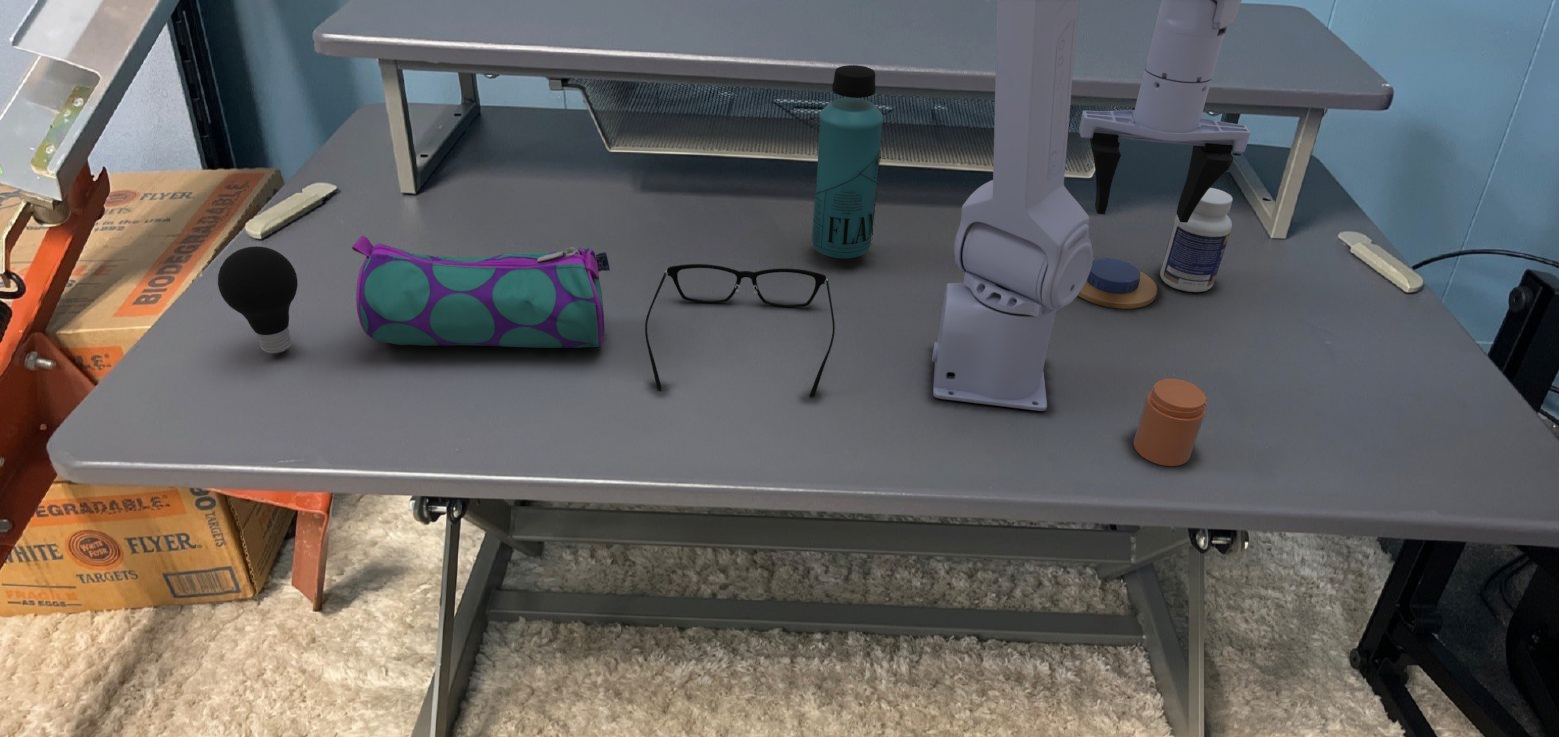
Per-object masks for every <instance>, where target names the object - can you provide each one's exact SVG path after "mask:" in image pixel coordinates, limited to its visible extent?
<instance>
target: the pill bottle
mask: <svg viewBox="0 0 1559 737" xmlns="http://www.w3.org/2000/svg"><path fill="white" fill-rule="evenodd" d="M1233 200H1234V199H1233V196H1232V195H1231V194H1230V193H1228V192H1226V191H1224V190H1221V189H1218V188H1214V187H1210V188H1209V189H1208V191H1207V192H1206V193H1205V194H1204V196H1203V197H1202V199H1201V200H1200V201H1199V203H1198V205H1197V206H1196V208H1195V209H1194V211H1193V213H1192V215H1191V216H1190V218H1189V220H1188V222H1187V223H1184V222H1180V220H1179V218H1178V216H1177V214H1176V215H1175V217H1174V221H1173V225H1172V229H1171V231H1170V236H1169V239H1168V243H1167V245H1166V250H1165V253H1164V257H1163V260H1162V263H1161V267H1160V272H1159V276H1160V278H1161V280H1162V281H1163V282H1164V283H1165V285H1168V286H1169V287H1171V288H1173V289H1175V290H1179V291H1183V292H1189V293H1201V292H1207V291H1208V290H1210V289H1211V288H1213V286H1214V283H1215V281H1216V278H1217V275H1218V273H1219V269H1220V266H1221V262H1222V259H1223V257H1224V254H1225V250H1226V248H1227V244H1228V241H1229V238H1230V235H1231V232H1232V228H1233V223H1232V219H1231V218H1230V217H1229V216H1228V214H1229V213H1230V211H1231V208H1232V204H1233Z"/></svg>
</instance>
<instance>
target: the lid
mask: <svg viewBox="0 0 1559 737" xmlns="http://www.w3.org/2000/svg"><path fill="white" fill-rule="evenodd" d="M1140 271H1141V270H1139V269H1138V268H1137V267H1136V266H1135V265H1133V264H1132V263H1129V262H1128V261H1124V260H1122V259H1117V258H1108V257H1105V258H1095V259H1093V262H1092V267H1091V270H1090V273H1089V276H1088V278H1087V281H1088V282H1089V283H1090V284H1091V285H1092V286H1094V287H1095V288H1097V289H1100V290H1103V291H1106V292H1110V293H1129V292H1132V291H1135V289H1136V288H1138V285H1139V282H1140V279H1139V278H1140Z"/></svg>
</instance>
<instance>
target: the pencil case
mask: <svg viewBox="0 0 1559 737" xmlns="http://www.w3.org/2000/svg"><path fill="white" fill-rule="evenodd" d="M351 249H352V250H353V251H354V252H356V253H359V254H361V255H363V256H365V259H364V260H363V262H362V263H361V266H360V268H359V270H358V276H357V281H356V287H355V288H356V290H355V303H356V313H357V317H358V320H359V324H360V327H361V328H362V330H363V332H364V333H365V334H366V336H367V337H369V338H371V340H373V341H375V342H377V343H389V344H393V345H398V346H411V345H412V346H488V347H489V346H490V347H506V348H532V349H533V348H536V349H537V348H538V349H540V348H541V349H542V348H543V349H545V348H546V349H549V348H550V349H575V348H576V349H577V348H578V349H579V348H598V347H600V346H601V345H602V344H603V343H604V336H605V335H604V334H605V313H604V312H605V311H604V302H603V292H602V286H601V281H600V273H599V272H602V271H604V272H607V271H611V269H610V263H609V258H608V254H607V252H605V251H603V252H599V253H596V252H595V251H594V249H591V248H590V247H583V246H582V247H576V248H575V247H573V246H571V247H567V248H565V250H561V251H552V252H544V251H543V252H542V251H538V252H537V251H536V252H526V253H515V252H510V253H501V254H497V255H487V256H481V257H480V256H479V257H471V256H470V257H469V256H468V257H461V256H460V257H459V256H445V255H437V256H433V255H429V254H421V253H413V252H410V251H406V250H403V249H400V248H397V247H394V246H391V245H388V244H384V243H381V242H380V243H379V242H378V243H376V244H374V245H373V243H371V241H370V240H369V238H368V237H367V236H366V235H360V236H359V237H358V238H357V240H356V241H355V242H354V244H353V245H352V246H351Z"/></svg>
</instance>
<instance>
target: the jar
mask: <svg viewBox="0 0 1559 737" xmlns="http://www.w3.org/2000/svg"><path fill="white" fill-rule="evenodd" d="M1207 403H1208V398H1207V394H1206V393H1205V392H1204V389H1203V390H1202V388H1200V387H1199V386H1197V385H1196V384H1194V383H1192V382H1190V381H1187V380H1184V379H1179V378H1171V377H1170V378H1163V379H1160V380H1158V381H1156V382H1155V383H1154V385H1153V387H1152V390H1150V391H1149V392H1148V394H1146V398H1145V402H1144V404H1143V408H1142V412H1141V415H1140V417H1139V421H1138V425H1137V428H1136V432H1135V435H1134V438H1133V442H1132V443H1133V447H1134V449H1135V451H1136V453H1138V454H1139V455H1140V456H1141V457H1142V458H1143V459H1145V460H1146V461H1149V462H1151V463H1154V464H1156V465H1160V466H1164V467H1178V466H1179V467H1180V466H1181V465H1185V464H1186V463H1187V462H1188V461H1190V459H1191V455H1192V453H1193V450H1194V447H1195V445H1196V441H1197V439H1198V436H1199V432H1200V429H1201V427H1202V424H1203V422H1204V418H1205V415H1206V412H1207V408H1206V407H1207Z"/></svg>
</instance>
